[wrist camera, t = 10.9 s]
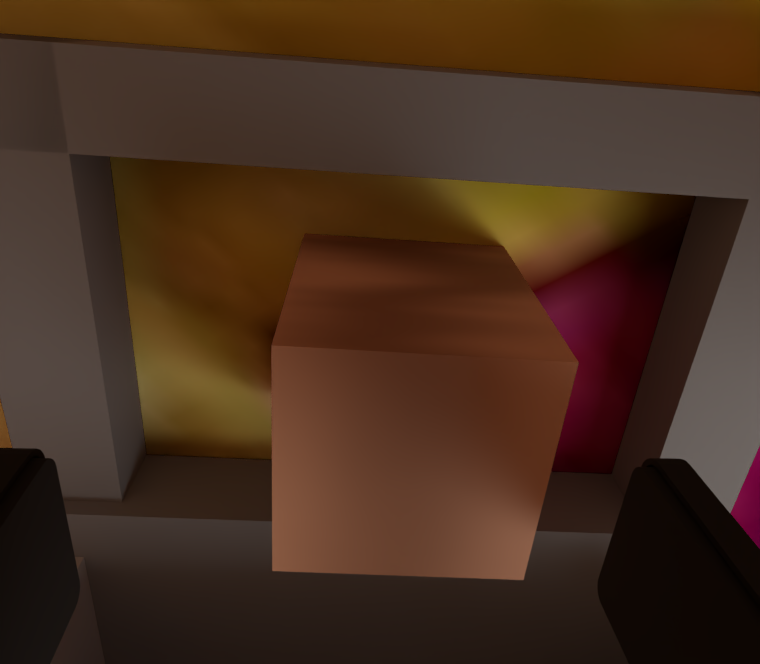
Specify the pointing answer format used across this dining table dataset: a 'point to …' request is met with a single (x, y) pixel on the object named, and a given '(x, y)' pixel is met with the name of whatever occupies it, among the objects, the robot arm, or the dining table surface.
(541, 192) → the dining table surface
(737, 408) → the gray box frame
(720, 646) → the robot arm
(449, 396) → the block
